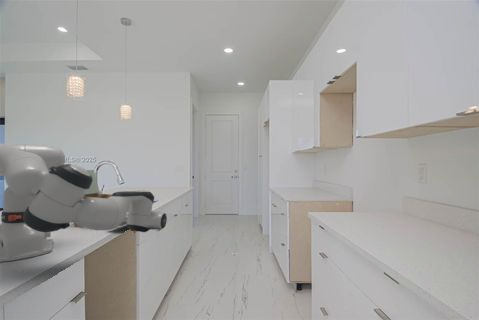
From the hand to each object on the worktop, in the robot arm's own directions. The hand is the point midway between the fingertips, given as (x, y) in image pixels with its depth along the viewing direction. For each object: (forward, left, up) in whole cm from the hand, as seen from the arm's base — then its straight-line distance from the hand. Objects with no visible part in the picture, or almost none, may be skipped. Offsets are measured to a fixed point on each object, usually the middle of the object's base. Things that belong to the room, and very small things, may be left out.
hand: (114, 217), depth 129 cm
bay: (+12, +7, -4) cm, 14 cm away
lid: (+16, +9, +17) cm, 25 cm away
